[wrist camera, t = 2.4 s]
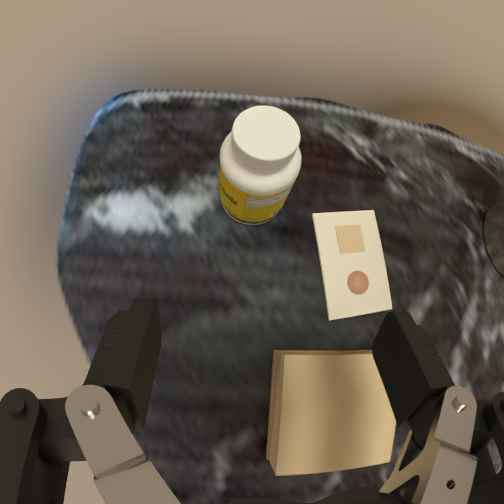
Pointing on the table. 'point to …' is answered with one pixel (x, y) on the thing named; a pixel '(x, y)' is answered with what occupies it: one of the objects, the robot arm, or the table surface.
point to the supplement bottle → (259, 164)
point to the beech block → (327, 412)
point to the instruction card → (351, 263)
